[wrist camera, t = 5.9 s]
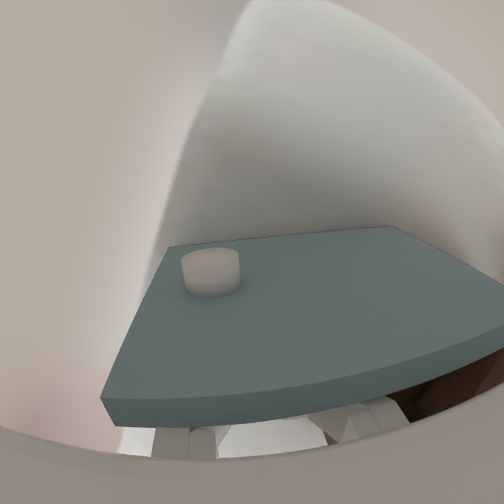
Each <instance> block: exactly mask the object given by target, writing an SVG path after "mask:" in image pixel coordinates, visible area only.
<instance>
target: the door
mask: <svg viewBox="0 0 504 504" xmlns="http://www.w3.org/2000/svg"><path fill="white" fill-rule="evenodd" d="M503 347H504V285H502V284H501V283H499V282H497V281H496V280H494V279H492V278H490V277H489V276H487V275H485V274H484V273H482V272H480V271H478V270H477V269H475V268H473V267H471V266H469V265H468V264H466V263H464V262H462V261H460V260H458V259H457V258H455V257H453V256H451V255H449V254H447V253H445V252H443V251H441V250H440V249H438V248H436V247H434V246H432V245H430V244H428V243H426V242H424V241H422V240H420V239H418V238H416V237H414V236H412V235H410V234H408V233H406V232H404V231H402V230H400V229H398V228H395V227H393V226H385V227H373V228H362V229H350V230H339V231H328V232H317V233H306V234H295V235H284V236H274V237H264V238H253V239H243V240H233V241H223V242H214V243H204V244H194V245H185V246H175V247H169V249H168V251H167V253H166V255H165V256H164V258H163V260H162V262H161V264H160V266H159V268H158V270H157V272H156V274H155V276H154V278H153V280H152V282H151V284H150V286H149V288H148V290H147V292H146V294H145V296H144V298H143V301H142V303H141V305H140V307H139V309H138V311H137V313H136V315H135V317H134V320H133V322H132V324H131V326H130V328H129V330H128V333H127V335H126V337H125V339H124V342H123V344H122V346H121V348H120V351H119V353H118V355H117V358H116V360H115V362H114V365H113V367H112V369H111V372H110V374H109V377H108V379H107V382H106V384H105V386H104V389H103V391H102V394H101V396H100V398H101V400H102V402H103V404H104V406H105V408H106V410H107V412H108V414H109V416H110V418H111V419H112V421H113V423H114V425H115V426H122V427H147V428H156V427H166V428H181V427H206V426H221V425H233V424H243V423H252V422H261V421H268V420H275V419H282V418H288V417H294V416H300V415H305V414H310V413H316V412H320V411H325V410H330V409H334V408H339V407H343V406H347V405H351V404H355V403H359V402H363V401H366V400H370V399H374V398H377V397H381V396H384V395H387V394H390V393H394V392H397V391H400V390H403V389H406V388H409V387H412V386H415V385H418V384H421V383H423V382H426V381H429V380H431V379H434V378H437V377H439V376H442V375H444V374H447V373H449V372H452V371H454V370H456V369H459V368H461V367H463V366H466V365H468V364H470V363H472V362H475V361H477V360H479V359H481V358H483V357H485V356H487V355H489V354H491V353H493V352H495V351H497V350H499V349H501V348H503Z"/></svg>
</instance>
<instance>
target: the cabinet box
mask: <svg viewBox="0 0 504 504" xmlns="http://www.w3.org/2000/svg"><path fill="white" fill-rule="evenodd" d="M503 382H504V347H503V348H501V349H499V350H497V351H495V352H493V353H491V354H489V355H487V356H485V357H483V358H481V359H479V360H477V361H475V362H472V363H470V364H468V365H466V366H463V367H461V368H459V369H456V370H454V371H452V372H449V373H447V374H444V375H442V376H439V377H437V378H434V379H431V380H429V381H426V382H423V383H421V384H418V385H415V386H412V387H409V388H406V389H403V390H400V391H397V392H394V393H390V394H387V395H384V396H386V397H388V398H390V399H392V400H394V401H396V403H397V404H398V406H399V407H400V409H401V410H402V412H403V414H404V415H405V417H406V418H407V420H408V421H409V423H413V422H416V421H418V420H421V419H424V418H427V417H429V416H432V415H434V414H437V413H439V412H442V411H444V410H447V409H449V408H452V407H454V406H456V405H458V404H461V403H463V402H465V401H467V400H469V399H472V398H474V397H476V396H478V395H480V394H482V393H484V392H486V391H488V390H490V389H492V388H494V387H496V386H497V385H499V384H501V383H503ZM323 432H324V431H323ZM324 435H325V438H326V441H327V443H328V445H333V444H338V442H337V441H336V440H334V439H333V438H332V437H331V436H329V435H328V434H327V433H326V432H324Z"/></svg>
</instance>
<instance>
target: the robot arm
mask: <svg viewBox="0 0 504 504" xmlns="http://www.w3.org/2000/svg"><path fill="white" fill-rule="evenodd" d="M303 417H308V419H310V420H311V421H312V422H313V423H315V424H316V425H317V426H318V427H319V428H321V429H322V430H323V431H324V432H326V433H327V434H328V435H329V436H331V437H332V438H333V439H334V440H336V441H337V442H338V444H333V445H328V446H323V447H318V448H312V449H306V450H300V451H294V452H286V453H279V454H270V455H261V456H249V457H234V458H219V454H218V448H217V447H218V445H219V444H220V442H221V441H222V439H223V438H224V436H225V435H226V433H227V432H228V430H229V429H230V427H231V425H221V426H206V427H181V428H166V427H156V430H155V436H154V442H153V448H152V455H151V457H147V456H135V455H126V454H118V453H110V452H103V451H97V450H91V449H85V448H80V447H74V446H70V445H66V444H61V443H57V442H53V441H49V440H45V439H41V438H37V437H34V436H30V435H26V434H24V433H20V432H17V431H14V430H11V429H8V428H5V427H2V426H0V504H504V382H503V383H501V384H499V385H497V386H496V387H494V388H492V389H490V390H488V391H486V392H484V393H482V394H480V395H478V396H476V397H474V398H472V399H469V400H467V401H465V402H463V403H461V404H458V405H456V406H454V407H452V408H449V409H447V410H444V411H442V412H439V413H437V414H434V415H432V416H429V417H427V418H424V419H421V420H418V421H416V422H413V423H409V421H408V420H407V418H406V417H405V415H404V414H403V412H402V410H401V409H400V407H399V406H398V404H397V403H396V401H394V400H392V399H390V398H388V397H386V396H381V397H377V398H374V399H370V400H366V401H363V402H359V403H355V404H351V405H347V406H343V407H339V408H334V409H330V410H325V411H320V412H316V413H310V414H305V415H300V416H294V417H288V418H282V420H285V419H295V418H303ZM252 423H256V422H252ZM243 424H246V423H243ZM233 425H235V424H233Z"/></svg>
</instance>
